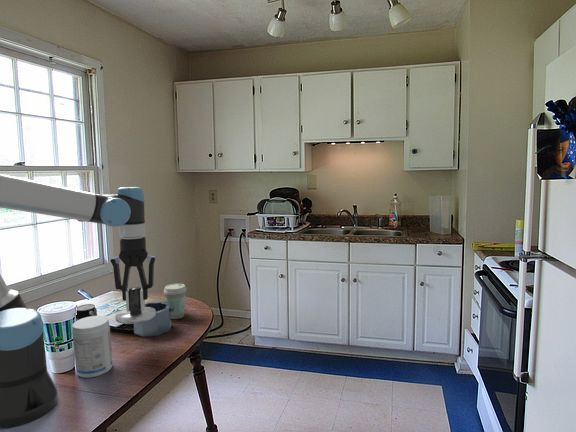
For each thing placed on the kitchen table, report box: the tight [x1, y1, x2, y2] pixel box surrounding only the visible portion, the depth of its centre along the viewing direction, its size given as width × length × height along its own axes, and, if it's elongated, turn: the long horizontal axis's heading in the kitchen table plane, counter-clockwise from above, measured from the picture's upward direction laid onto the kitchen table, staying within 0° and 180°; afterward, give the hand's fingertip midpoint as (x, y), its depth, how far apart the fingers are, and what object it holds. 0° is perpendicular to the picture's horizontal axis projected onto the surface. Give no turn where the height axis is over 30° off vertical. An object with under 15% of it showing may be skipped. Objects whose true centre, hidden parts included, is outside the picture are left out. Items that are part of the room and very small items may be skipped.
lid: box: [115, 286, 156, 325], centre depth 127 cm, size 12×12×9 cm
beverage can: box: [76, 303, 98, 321], centre depth 134 cm, size 7×7×12 cm
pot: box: [133, 301, 174, 338], centre depth 143 cm, size 12×15×8 cm
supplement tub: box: [71, 315, 114, 379], centre depth 114 cm, size 10×10×15 cm
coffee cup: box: [163, 283, 187, 320], centre depth 155 cm, size 8×9×12 cm
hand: (135, 309), depth 127 cm, fingers closed on lid, 4 cm apart
